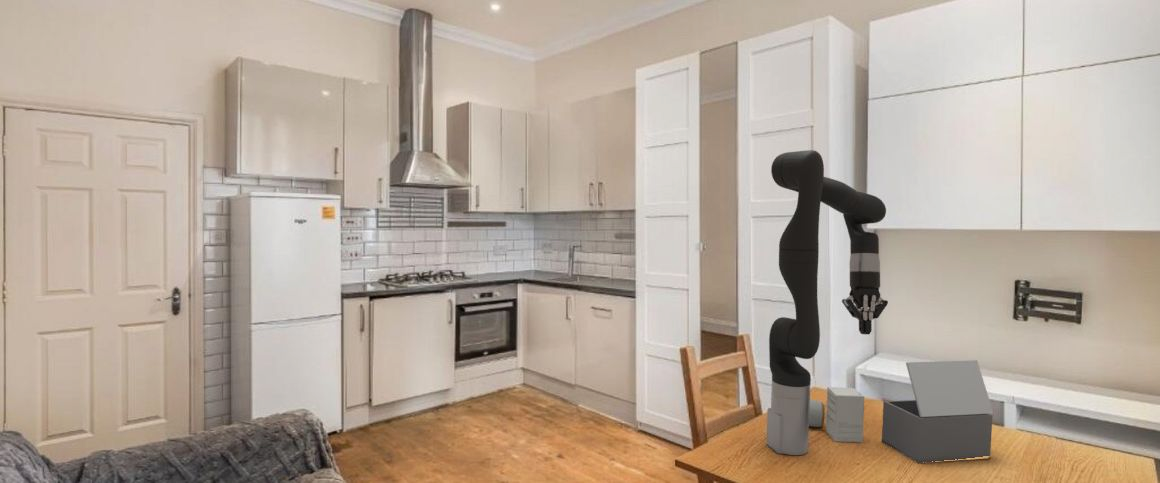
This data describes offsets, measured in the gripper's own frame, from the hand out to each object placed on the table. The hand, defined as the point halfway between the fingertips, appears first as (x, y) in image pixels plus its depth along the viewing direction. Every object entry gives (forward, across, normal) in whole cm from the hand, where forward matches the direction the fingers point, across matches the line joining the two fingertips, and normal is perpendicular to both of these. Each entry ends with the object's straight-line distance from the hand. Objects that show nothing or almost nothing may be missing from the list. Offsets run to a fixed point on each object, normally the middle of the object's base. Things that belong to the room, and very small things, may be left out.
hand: (865, 334), depth 155 cm
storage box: (+28, +12, -9) cm, 32 cm away
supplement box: (+28, -6, +2) cm, 29 cm away
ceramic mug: (+27, -10, +12) cm, 31 cm away
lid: (+12, +12, -15) cm, 22 cm away
